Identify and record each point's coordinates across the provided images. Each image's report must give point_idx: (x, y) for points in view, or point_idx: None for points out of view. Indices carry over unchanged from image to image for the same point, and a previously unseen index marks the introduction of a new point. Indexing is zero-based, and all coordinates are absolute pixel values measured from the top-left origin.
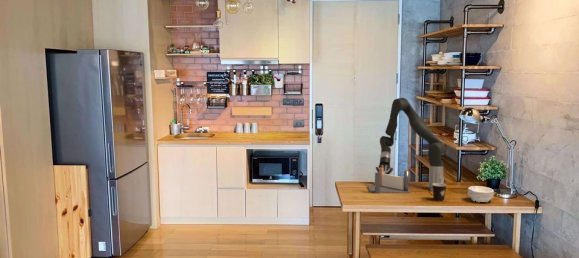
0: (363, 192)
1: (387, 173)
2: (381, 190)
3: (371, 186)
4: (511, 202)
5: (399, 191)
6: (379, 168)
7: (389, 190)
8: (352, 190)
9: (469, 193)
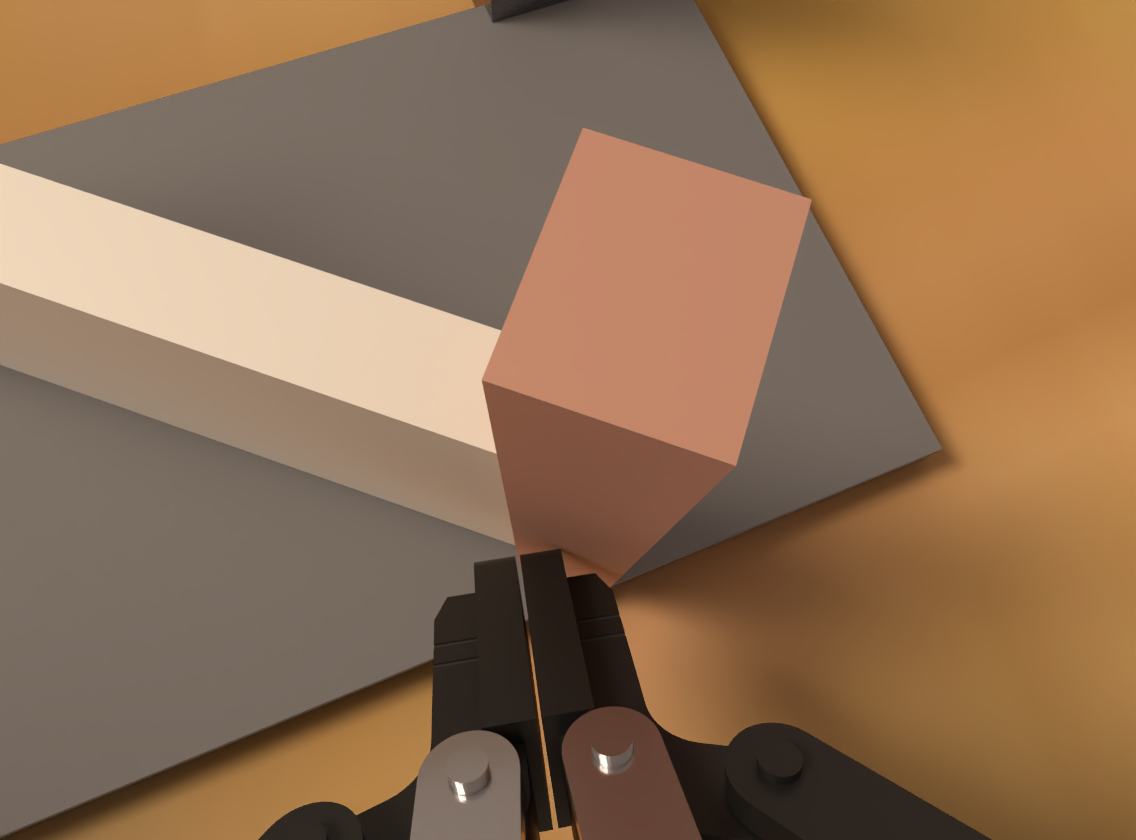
0: None
1: (327, 821)
2: (452, 86)
3: (798, 358)
4: None
5: (11, 151)
6: (788, 211)
7: (267, 153)
8: (1061, 11)
9: None
